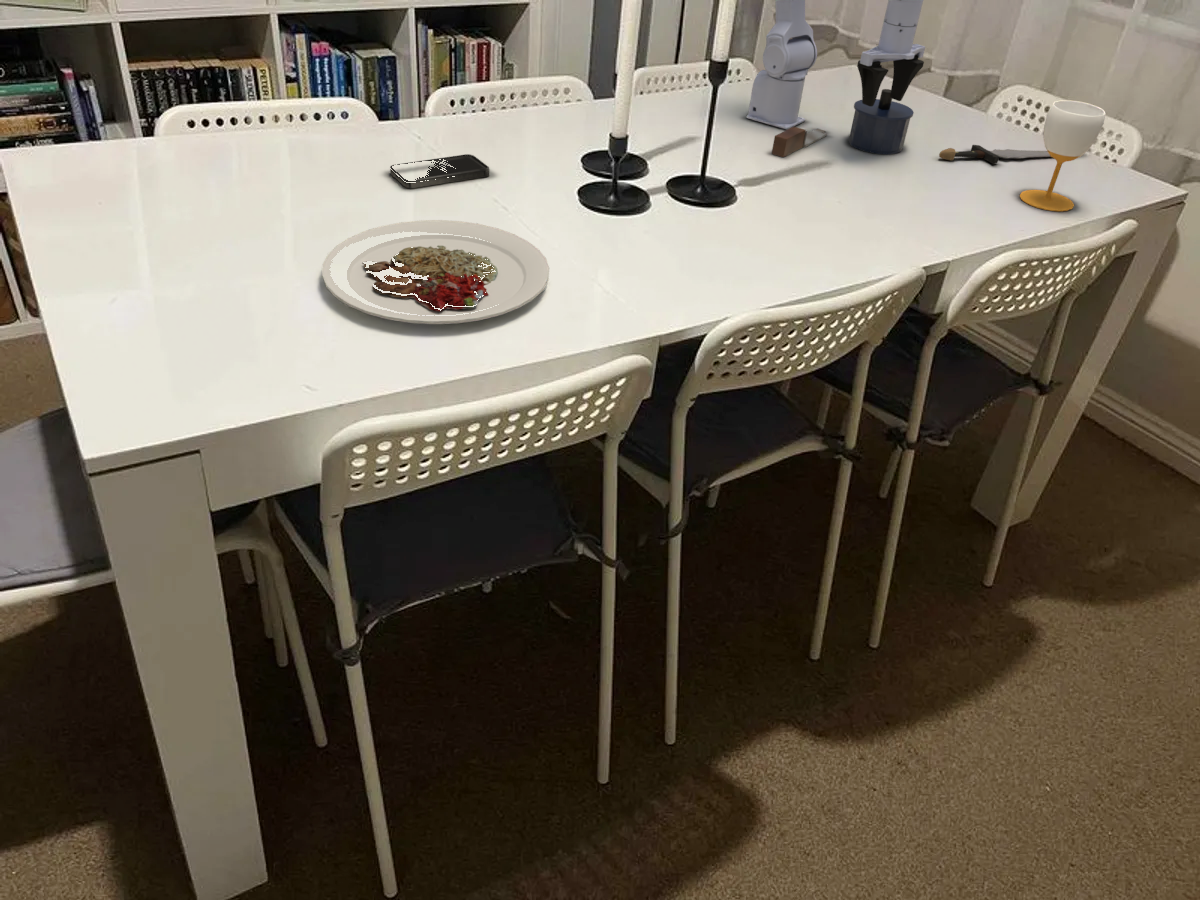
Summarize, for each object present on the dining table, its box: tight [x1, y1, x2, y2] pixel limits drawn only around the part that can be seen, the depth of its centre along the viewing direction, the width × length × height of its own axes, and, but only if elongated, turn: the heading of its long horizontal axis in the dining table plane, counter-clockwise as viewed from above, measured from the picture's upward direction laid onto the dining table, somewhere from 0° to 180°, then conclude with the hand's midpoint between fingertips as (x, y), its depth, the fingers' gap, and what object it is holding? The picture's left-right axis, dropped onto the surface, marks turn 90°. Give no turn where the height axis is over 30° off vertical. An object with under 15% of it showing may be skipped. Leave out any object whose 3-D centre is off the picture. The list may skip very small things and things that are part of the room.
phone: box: [389, 153, 490, 189], centre depth 163 cm, size 8×1×15 cm
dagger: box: [938, 144, 1052, 165], centre depth 188 cm, size 8×32×2 cm, turn 98°
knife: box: [771, 126, 828, 158], centre depth 186 cm, size 19×3×3 cm, turn 143°
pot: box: [848, 109, 911, 155], centre depth 188 cm, size 10×10×6 cm
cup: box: [1019, 99, 1107, 212], centre depth 167 cm, size 9×9×16 cm
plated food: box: [321, 219, 550, 325], centre depth 132 cm, size 30×30×3 cm
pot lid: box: [853, 88, 915, 120], centre depth 185 cm, size 11×11×4 cm
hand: (881, 102), depth 179 cm, fingers open, 7 cm apart
